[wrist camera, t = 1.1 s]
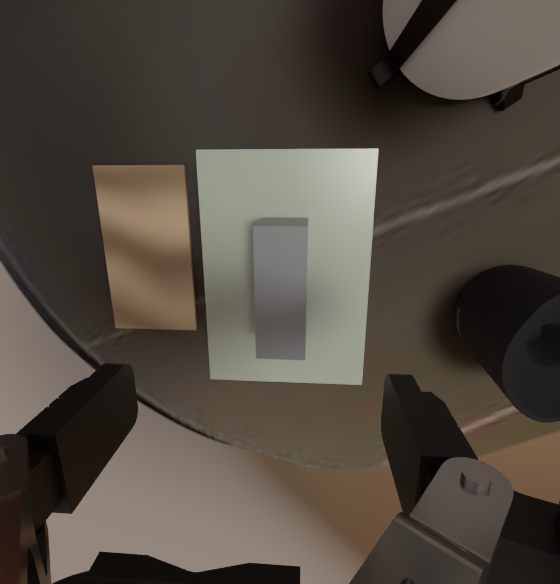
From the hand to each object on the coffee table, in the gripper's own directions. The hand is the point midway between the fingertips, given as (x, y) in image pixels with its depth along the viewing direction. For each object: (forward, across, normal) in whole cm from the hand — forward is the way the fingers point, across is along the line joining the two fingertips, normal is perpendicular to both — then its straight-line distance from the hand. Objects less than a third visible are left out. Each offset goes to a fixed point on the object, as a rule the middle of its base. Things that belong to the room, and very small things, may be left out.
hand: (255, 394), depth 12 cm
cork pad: (+23, +13, 0) cm, 26 cm away
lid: (+17, 0, 0) cm, 17 cm away
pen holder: (+23, -19, +5) cm, 30 cm away
